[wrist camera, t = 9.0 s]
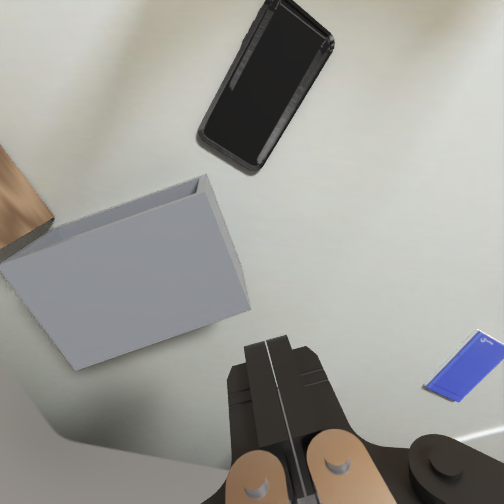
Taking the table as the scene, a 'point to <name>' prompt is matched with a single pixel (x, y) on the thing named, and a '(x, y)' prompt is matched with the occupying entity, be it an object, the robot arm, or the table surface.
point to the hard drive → (467, 366)
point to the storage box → (132, 274)
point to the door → (18, 203)
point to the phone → (266, 83)
